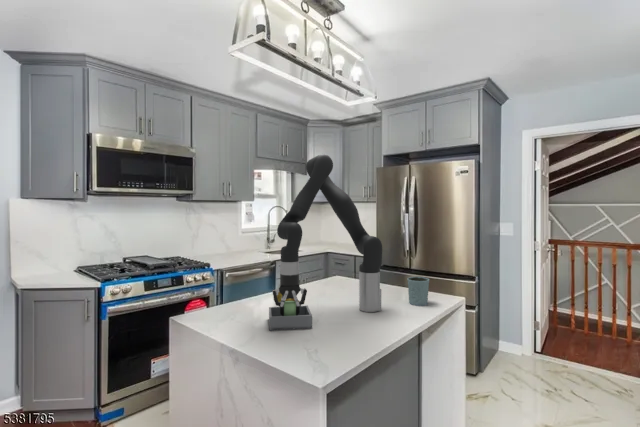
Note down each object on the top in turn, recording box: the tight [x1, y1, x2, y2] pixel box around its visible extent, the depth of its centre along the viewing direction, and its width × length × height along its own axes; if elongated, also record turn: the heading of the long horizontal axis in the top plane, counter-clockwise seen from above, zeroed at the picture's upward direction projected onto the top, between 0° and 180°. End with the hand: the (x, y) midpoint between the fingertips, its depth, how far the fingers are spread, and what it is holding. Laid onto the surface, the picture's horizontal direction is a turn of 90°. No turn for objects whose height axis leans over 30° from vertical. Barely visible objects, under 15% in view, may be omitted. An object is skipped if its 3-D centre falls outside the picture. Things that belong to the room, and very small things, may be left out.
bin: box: [268, 305, 313, 332], centre depth 143 cm, size 16×14×5 cm
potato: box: [273, 292, 302, 307], centre depth 162 cm, size 8×13×8 cm, turn 45°
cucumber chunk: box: [283, 301, 296, 316], centre depth 143 cm, size 5×5×6 cm
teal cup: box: [407, 276, 430, 307], centre depth 172 cm, size 10×10×12 cm
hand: (289, 315), depth 143 cm, fingers closed on cucumber chunk, 5 cm apart
